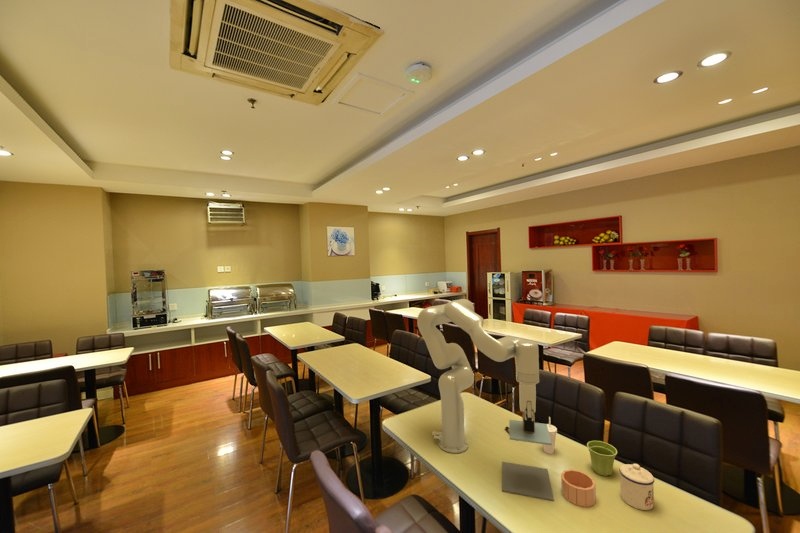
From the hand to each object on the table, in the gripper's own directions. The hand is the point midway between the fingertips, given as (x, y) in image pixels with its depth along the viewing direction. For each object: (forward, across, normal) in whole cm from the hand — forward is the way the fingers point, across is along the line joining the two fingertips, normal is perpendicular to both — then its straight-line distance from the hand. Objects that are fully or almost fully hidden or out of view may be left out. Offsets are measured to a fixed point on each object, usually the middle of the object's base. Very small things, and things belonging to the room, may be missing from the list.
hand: (528, 427), depth 113 cm
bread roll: (+20, -32, -3) cm, 38 cm away
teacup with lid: (+20, -2, +33) cm, 38 cm away
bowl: (+19, +3, +15) cm, 25 cm away
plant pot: (+20, -14, +26) cm, 35 cm away
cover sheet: (+2, 0, 0) cm, 2 cm away
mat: (+19, 0, -1) cm, 19 cm away
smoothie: (+20, -21, +9) cm, 30 cm away
